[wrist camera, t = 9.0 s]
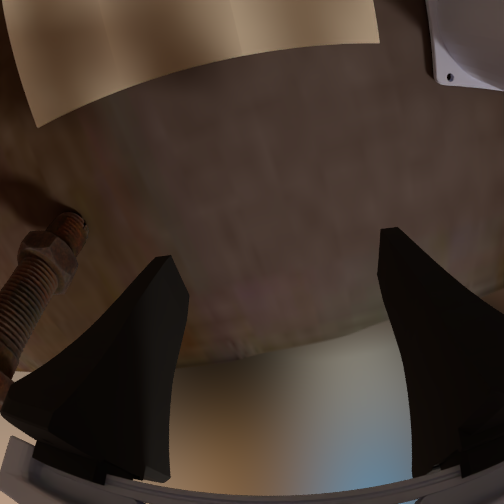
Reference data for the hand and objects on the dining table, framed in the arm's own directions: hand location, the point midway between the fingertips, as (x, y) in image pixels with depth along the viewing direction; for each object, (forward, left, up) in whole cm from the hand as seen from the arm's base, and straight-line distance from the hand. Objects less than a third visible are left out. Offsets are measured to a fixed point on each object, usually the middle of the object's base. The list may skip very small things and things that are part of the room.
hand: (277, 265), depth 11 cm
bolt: (+16, +2, -10) cm, 19 cm away
